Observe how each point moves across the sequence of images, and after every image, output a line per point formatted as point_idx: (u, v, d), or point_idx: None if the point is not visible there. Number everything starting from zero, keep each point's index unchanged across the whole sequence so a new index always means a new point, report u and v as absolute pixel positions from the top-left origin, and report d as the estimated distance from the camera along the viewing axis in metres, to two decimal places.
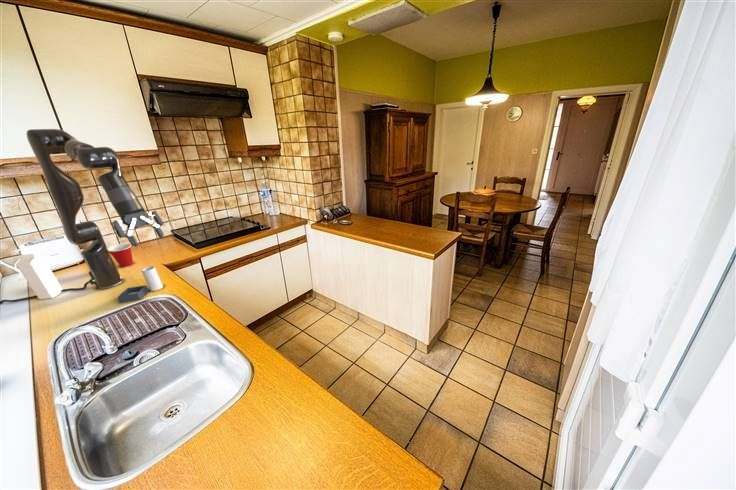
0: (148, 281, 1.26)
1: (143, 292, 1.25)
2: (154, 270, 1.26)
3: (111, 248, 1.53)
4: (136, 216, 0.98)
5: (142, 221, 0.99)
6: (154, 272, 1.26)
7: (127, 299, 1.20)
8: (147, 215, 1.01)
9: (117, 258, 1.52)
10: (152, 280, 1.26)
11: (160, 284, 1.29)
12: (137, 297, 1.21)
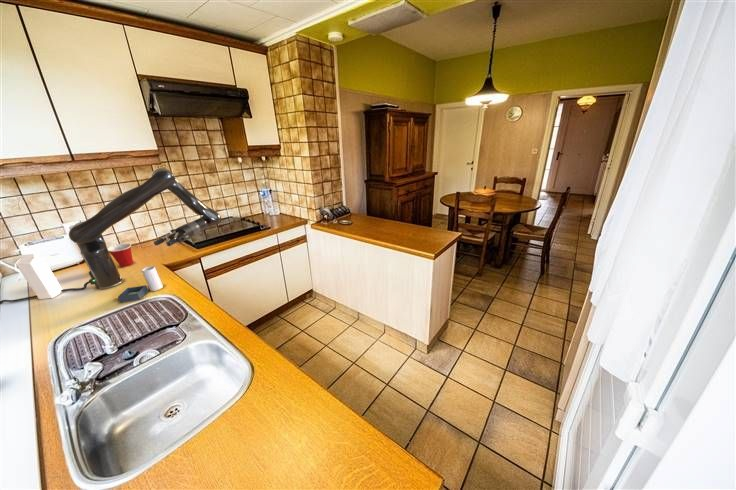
0: (148, 281, 1.26)
1: (143, 292, 1.25)
2: (154, 270, 1.26)
3: (111, 248, 1.53)
4: None
5: None
6: (154, 272, 1.26)
7: (127, 299, 1.20)
8: None
9: (117, 258, 1.52)
10: (152, 280, 1.26)
11: (160, 284, 1.29)
12: (137, 297, 1.21)
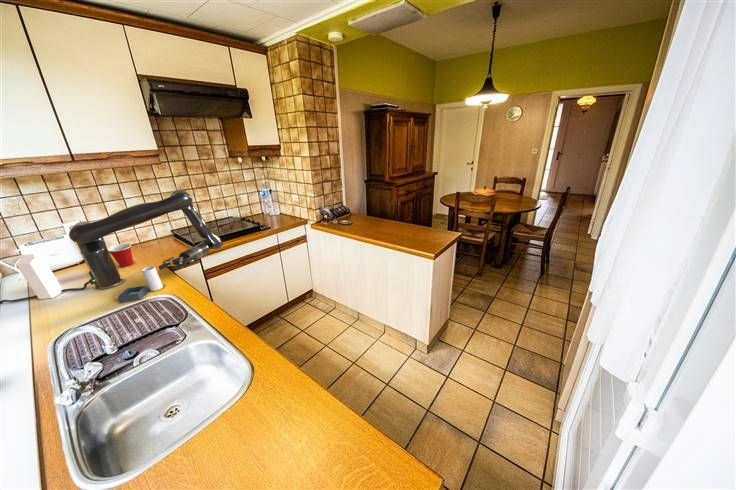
0: (148, 281, 1.26)
1: (143, 292, 1.25)
2: (154, 270, 1.26)
3: (111, 248, 1.53)
4: None
5: None
6: (154, 272, 1.26)
7: (127, 299, 1.20)
8: None
9: (117, 258, 1.52)
10: (152, 280, 1.26)
11: (160, 284, 1.29)
12: (137, 297, 1.21)
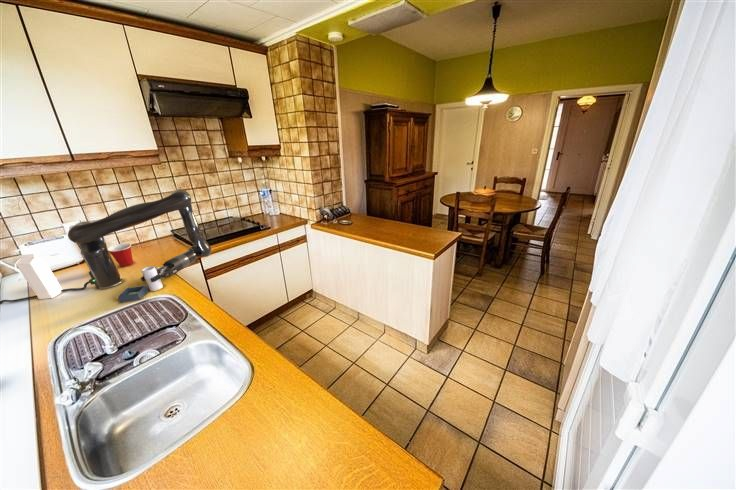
0: (148, 281, 1.26)
1: (143, 292, 1.25)
2: (154, 270, 1.26)
3: (111, 248, 1.53)
4: None
5: None
6: (154, 272, 1.26)
7: (127, 299, 1.20)
8: None
9: (117, 258, 1.52)
10: None
11: (160, 284, 1.29)
12: (137, 297, 1.21)
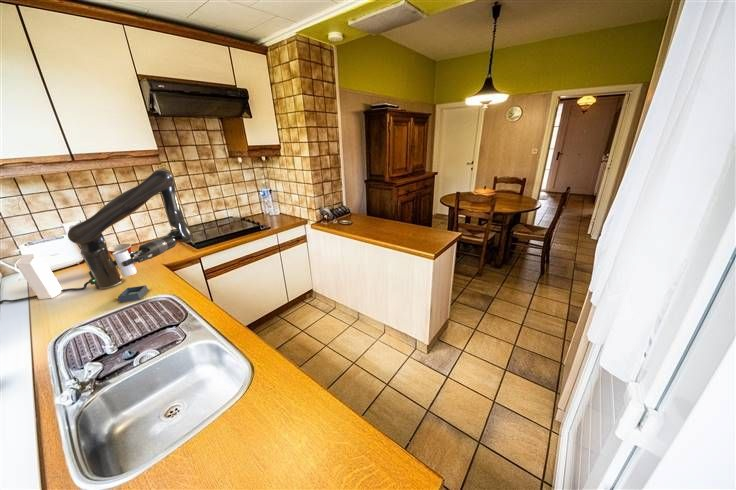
0: (120, 265, 1.17)
1: (143, 292, 1.25)
2: (126, 254, 1.17)
3: (111, 248, 1.53)
4: None
5: None
6: (126, 256, 1.17)
7: (127, 299, 1.20)
8: None
9: None
10: None
11: (134, 269, 1.20)
12: (137, 297, 1.21)
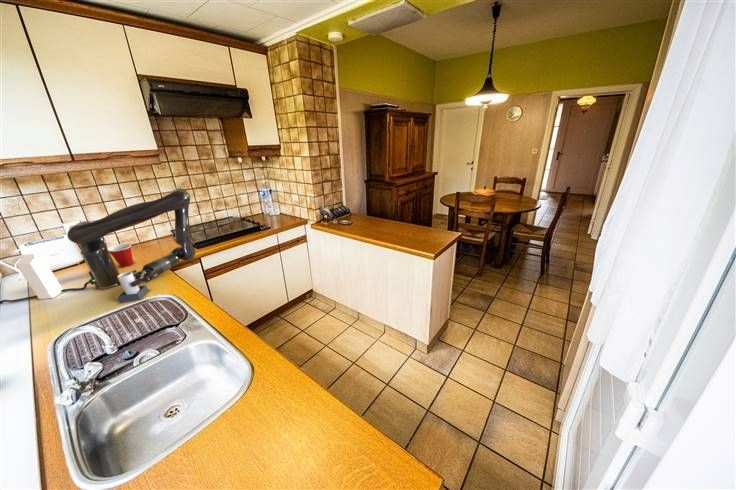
0: (124, 288, 1.19)
1: (143, 292, 1.25)
2: (131, 276, 1.20)
3: (111, 248, 1.53)
4: None
5: None
6: (131, 278, 1.20)
7: (127, 299, 1.20)
8: None
9: (117, 258, 1.52)
10: (129, 287, 1.20)
11: (138, 291, 1.23)
12: (137, 297, 1.21)
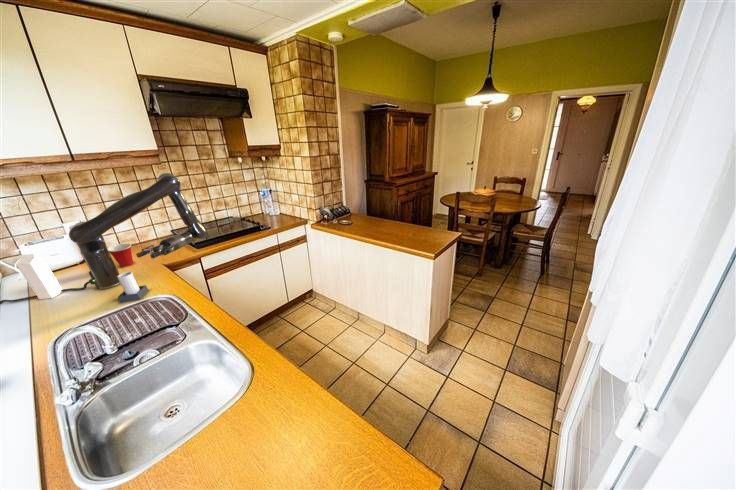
0: (124, 288, 1.19)
1: (143, 292, 1.25)
2: (131, 276, 1.20)
3: (111, 248, 1.53)
4: None
5: None
6: (131, 278, 1.20)
7: (127, 299, 1.20)
8: None
9: (117, 258, 1.52)
10: (129, 287, 1.20)
11: (138, 291, 1.23)
12: (137, 297, 1.21)
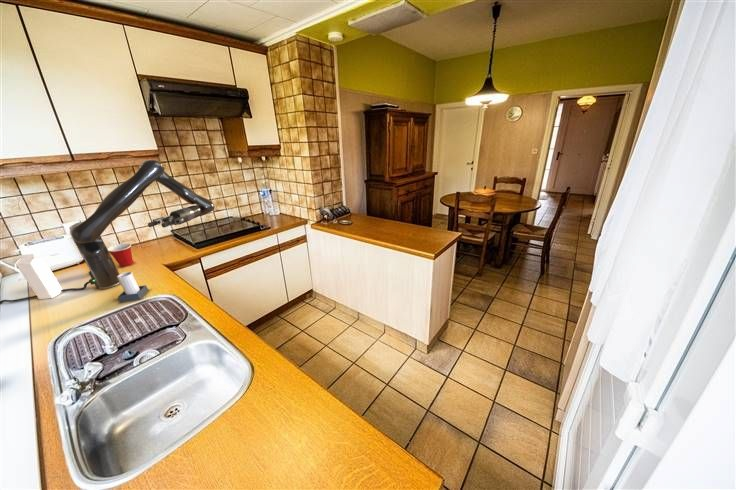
0: (124, 288, 1.19)
1: (143, 292, 1.25)
2: (131, 276, 1.20)
3: (111, 248, 1.53)
4: None
5: None
6: (131, 278, 1.20)
7: (127, 299, 1.20)
8: None
9: (117, 258, 1.52)
10: (129, 287, 1.20)
11: (138, 291, 1.23)
12: (137, 297, 1.21)
